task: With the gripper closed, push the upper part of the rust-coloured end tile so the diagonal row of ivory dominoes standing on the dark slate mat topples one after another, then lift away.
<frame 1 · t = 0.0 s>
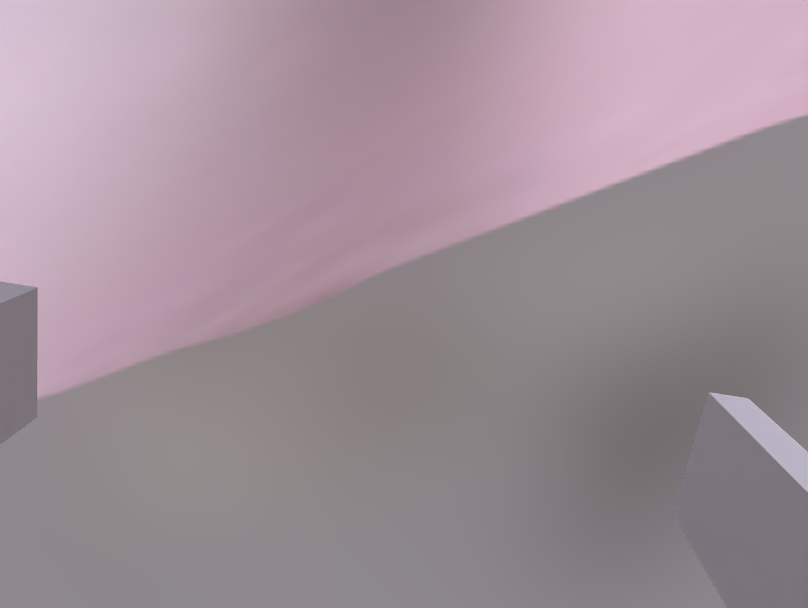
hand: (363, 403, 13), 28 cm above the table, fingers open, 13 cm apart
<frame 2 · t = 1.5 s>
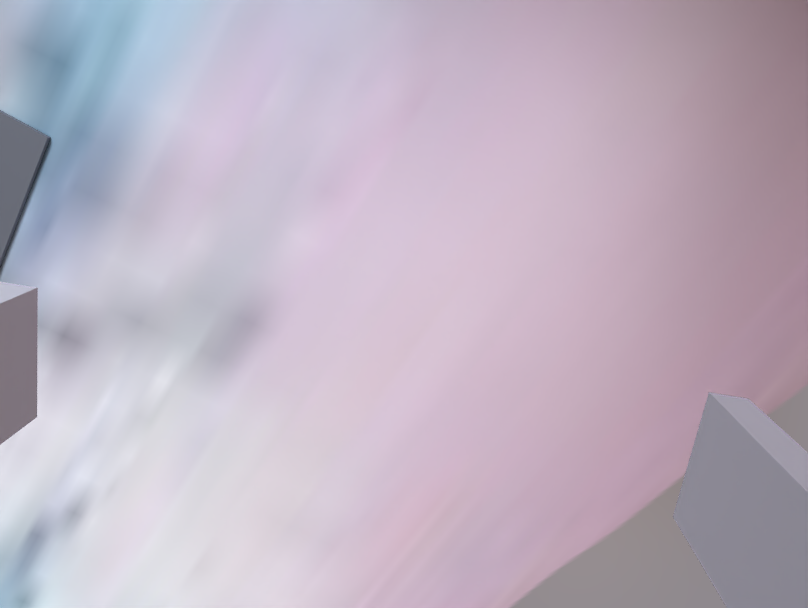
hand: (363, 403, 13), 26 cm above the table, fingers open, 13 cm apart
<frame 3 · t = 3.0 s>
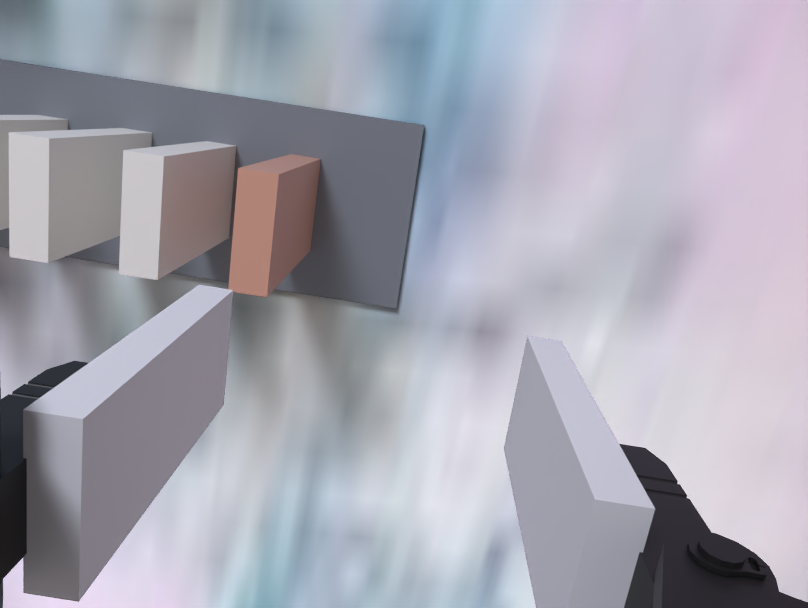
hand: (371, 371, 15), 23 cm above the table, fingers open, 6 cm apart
domino 3: (135, 177, 37), resting on mat
domino 1: (300, 203, 37), resting on mat
mat: (137, 177, 37), on the table
domino 4: (52, 164, 37), resting on mat
domino 2: (217, 190, 37), resting on mat
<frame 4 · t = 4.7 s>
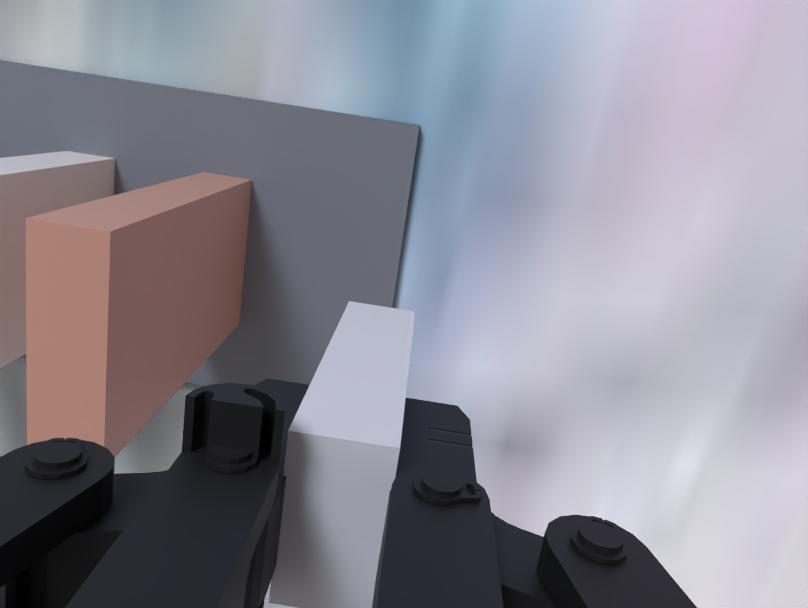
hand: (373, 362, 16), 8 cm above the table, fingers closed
domino 1: (221, 250, 23), resting on mat
domino 2: (89, 229, 23), resting on mat
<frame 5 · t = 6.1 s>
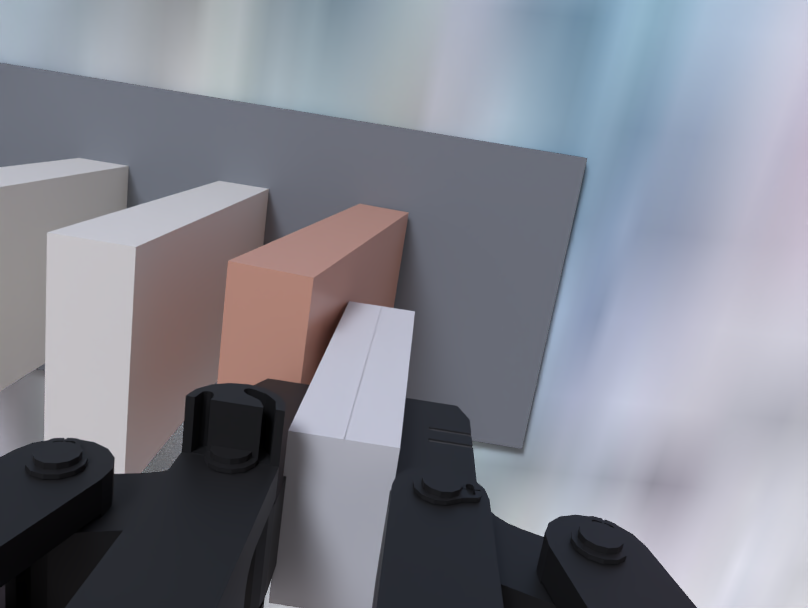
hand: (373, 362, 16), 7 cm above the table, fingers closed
domino 3: (101, 238, 22), resting on mat
domino 1: (372, 283, 22), resting on mat, tilted 7°, touching gripper
mat: (105, 237, 23), on the table
domino 2: (237, 260, 22), resting on mat
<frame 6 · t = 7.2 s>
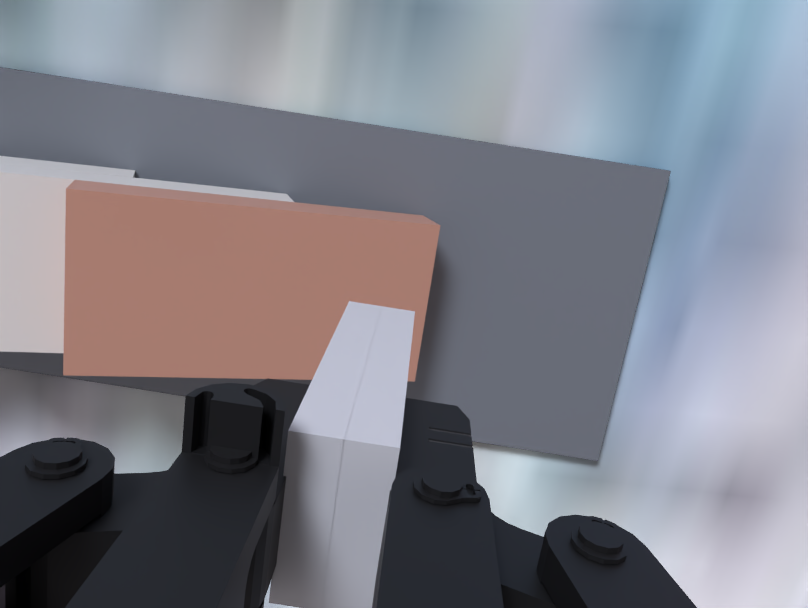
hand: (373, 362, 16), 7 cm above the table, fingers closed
domino 3: (130, 252, 22), point 1 cm above the table, tilted 69°, touching domino 2, domino 4, mat
domino 1: (418, 298, 22), point 1 cm above the table, tilted 70°, touching domino 2
mat: (182, 252, 23), on the table
domino 2: (282, 276, 22), point 1 cm above the table, tilted 70°, touching domino 1, domino 3, mat
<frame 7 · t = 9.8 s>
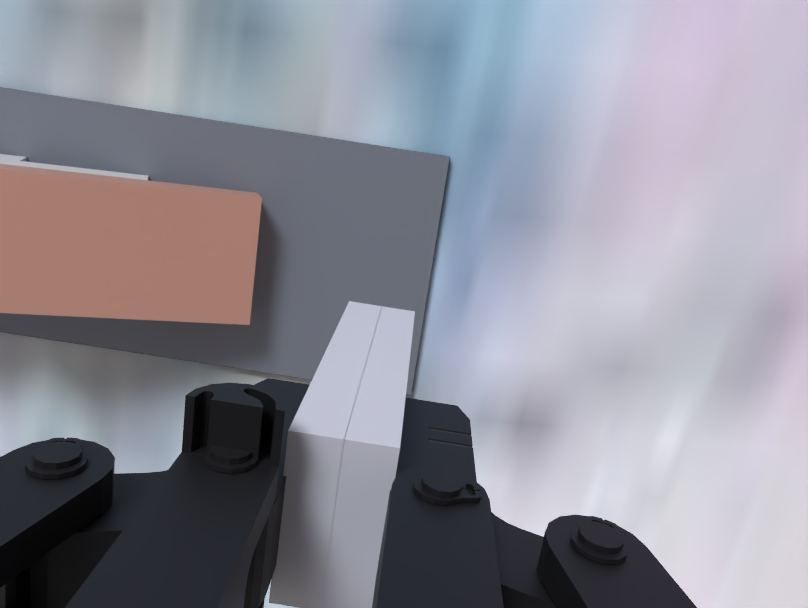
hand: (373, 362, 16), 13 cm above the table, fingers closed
domino 1: (253, 258, 27), point 1 cm above the table, tilted 70°, touching domino 2
mat: (68, 224, 28), on the table
domino 2: (144, 241, 27), point 1 cm above the table, tilted 70°, touching domino 1, domino 3, mat
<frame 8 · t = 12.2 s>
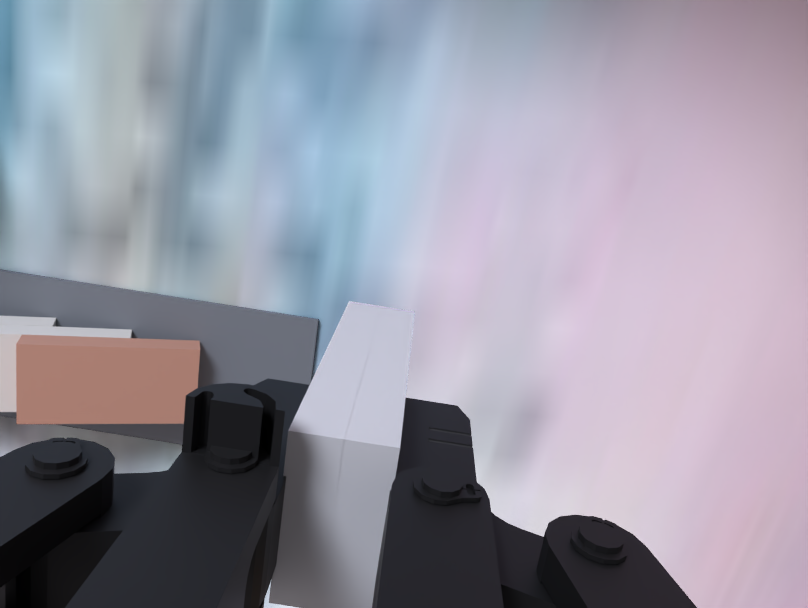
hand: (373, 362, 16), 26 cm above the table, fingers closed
domino 3: (54, 358, 44), point 1 cm above the table, tilted 69°, touching domino 2, domino 4, mat
domino 1: (197, 382, 43), point 1 cm above the table, tilted 70°, touching domino 2
mat: (82, 356, 45), on the table
domino 2: (129, 370, 43), point 1 cm above the table, tilted 70°, touching domino 1, domino 3, mat
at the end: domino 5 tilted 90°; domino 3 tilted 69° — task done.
